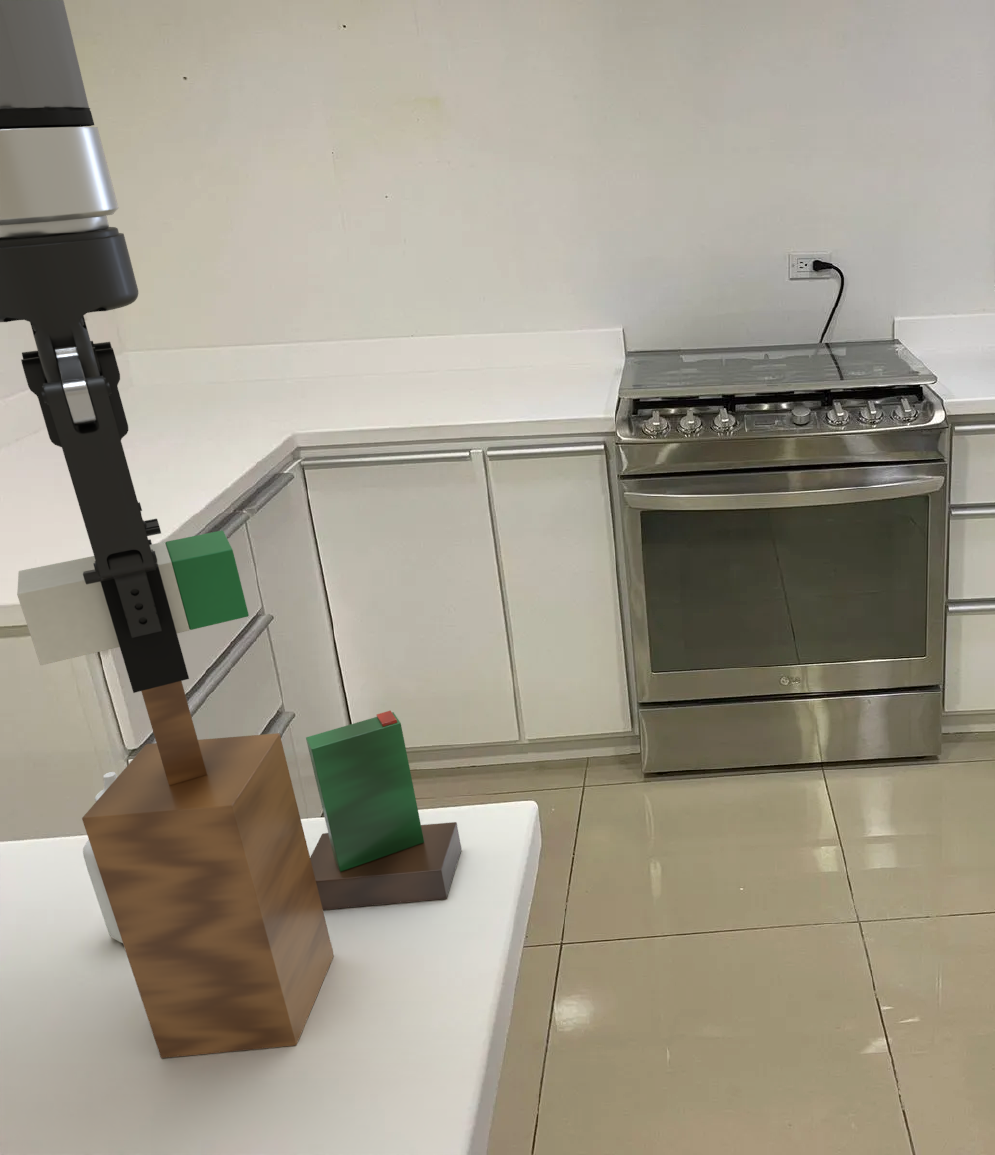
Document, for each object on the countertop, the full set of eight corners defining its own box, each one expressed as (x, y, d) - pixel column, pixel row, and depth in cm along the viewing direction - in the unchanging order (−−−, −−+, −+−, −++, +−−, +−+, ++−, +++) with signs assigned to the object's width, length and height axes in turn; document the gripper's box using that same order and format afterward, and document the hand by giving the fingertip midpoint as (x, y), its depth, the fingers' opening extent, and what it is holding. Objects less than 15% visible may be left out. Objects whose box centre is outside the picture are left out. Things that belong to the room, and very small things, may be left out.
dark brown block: (304, 911, 80) (296, 882, 79) (328, 860, 85) (321, 833, 84) (446, 899, 80) (441, 870, 79) (461, 849, 86) (456, 821, 85)
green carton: (340, 872, 79) (310, 746, 76) (334, 858, 81) (304, 734, 77) (424, 842, 82) (400, 719, 78) (417, 829, 84) (392, 708, 80)
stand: (160, 1058, 67) (37, 686, 58) (212, 966, 75) (110, 623, 65) (296, 1045, 68) (196, 674, 58) (334, 955, 75) (250, 613, 66)
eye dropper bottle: (110, 918, 80) (61, 773, 76) (196, 890, 83) (154, 748, 78) (111, 953, 77) (60, 803, 72) (201, 923, 79) (157, 776, 75)
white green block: (40, 666, 58) (16, 593, 56) (40, 639, 61) (18, 570, 59) (249, 616, 62) (232, 549, 61) (239, 594, 65) (223, 529, 64)
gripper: (-50, 227, 59) (76, 633, 67) (-78, 246, 45) (85, 752, 54) (112, 215, 62) (212, 603, 71) (131, 229, 49) (252, 707, 57)
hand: (157, 666), depth 62 cm, fingers closed on white green block, 4 cm apart
